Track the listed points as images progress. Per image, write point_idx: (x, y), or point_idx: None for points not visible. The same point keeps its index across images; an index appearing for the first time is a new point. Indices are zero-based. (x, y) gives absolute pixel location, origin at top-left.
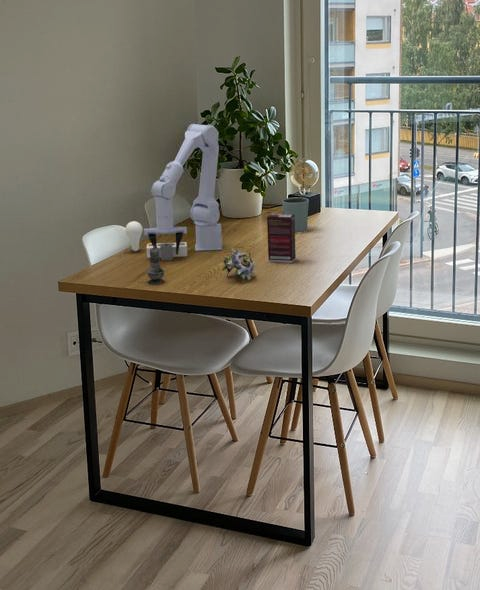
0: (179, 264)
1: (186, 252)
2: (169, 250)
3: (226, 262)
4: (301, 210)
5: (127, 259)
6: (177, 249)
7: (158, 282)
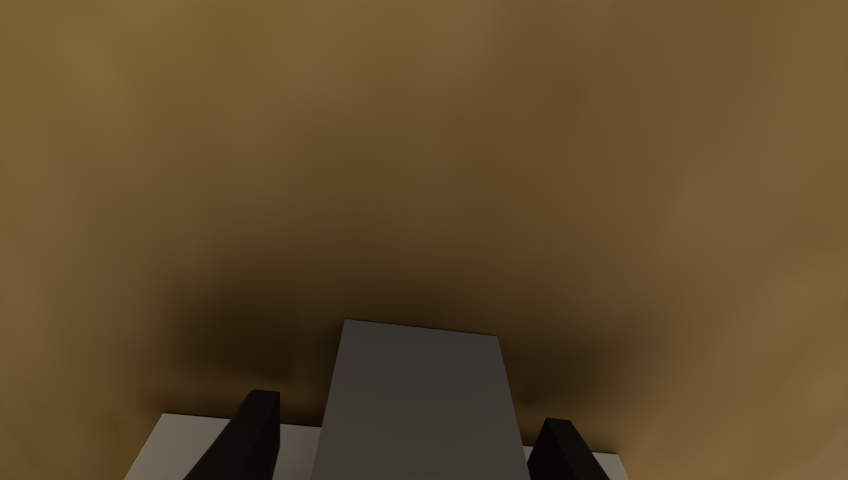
0: (242, 48)
1: (146, 454)
2: (370, 442)
3: None
4: None
5: (822, 458)
6: (222, 452)
7: None
